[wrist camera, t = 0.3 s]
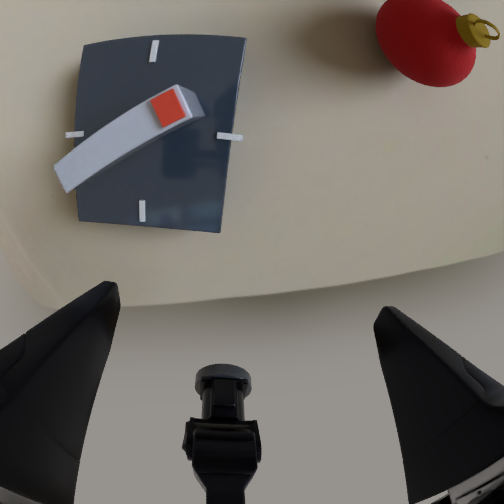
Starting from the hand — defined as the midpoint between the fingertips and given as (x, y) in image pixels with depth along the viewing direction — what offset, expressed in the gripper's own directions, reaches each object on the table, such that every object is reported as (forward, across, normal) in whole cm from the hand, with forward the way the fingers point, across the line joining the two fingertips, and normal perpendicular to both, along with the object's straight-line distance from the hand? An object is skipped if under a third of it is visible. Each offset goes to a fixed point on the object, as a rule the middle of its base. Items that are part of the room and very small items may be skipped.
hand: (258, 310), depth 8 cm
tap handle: (+9, +7, -4) cm, 12 cm away
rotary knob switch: (+12, +6, -4) cm, 14 cm away
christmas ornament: (+12, -9, -14) cm, 21 cm away
